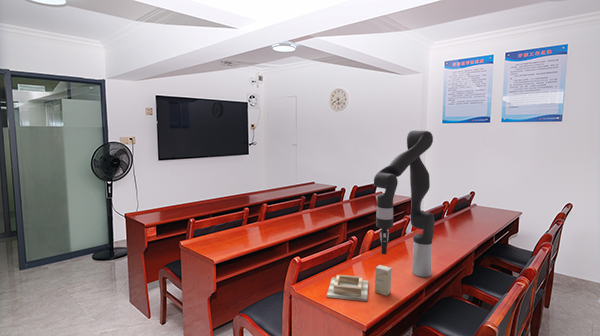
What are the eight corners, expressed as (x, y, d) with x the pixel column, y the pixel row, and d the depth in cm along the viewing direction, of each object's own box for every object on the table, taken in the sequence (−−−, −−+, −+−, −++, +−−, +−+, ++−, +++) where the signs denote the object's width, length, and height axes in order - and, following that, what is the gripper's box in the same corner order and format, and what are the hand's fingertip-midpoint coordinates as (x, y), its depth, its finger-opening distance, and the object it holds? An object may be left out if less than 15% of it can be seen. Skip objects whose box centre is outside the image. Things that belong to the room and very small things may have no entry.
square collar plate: (332, 279, 172) (332, 271, 171) (368, 283, 168) (368, 275, 167) (326, 297, 154) (326, 288, 154) (366, 301, 150) (367, 292, 150)
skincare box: (374, 292, 158) (375, 267, 157) (378, 288, 162) (379, 264, 160) (387, 296, 155) (388, 270, 153) (391, 292, 158) (391, 267, 157)
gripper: (393, 221, 146) (392, 257, 148) (392, 213, 160) (391, 246, 162) (376, 220, 148) (375, 255, 150) (376, 212, 162) (375, 245, 164)
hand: (383, 250), depth 156 cm, fingers open, 8 cm apart
